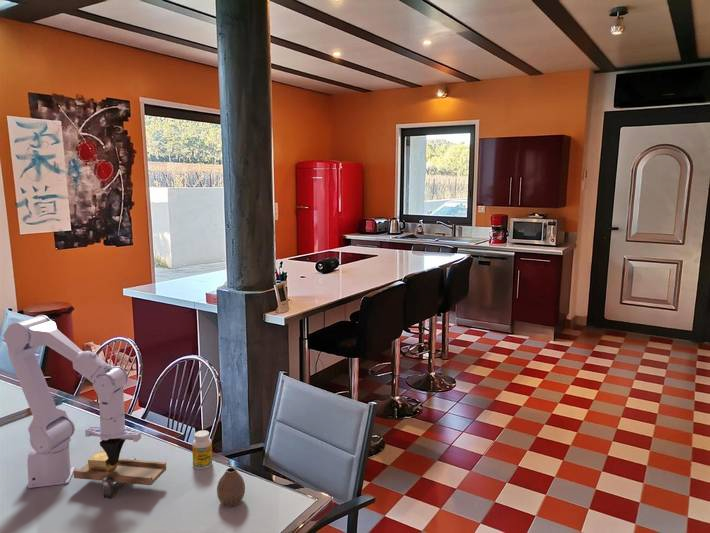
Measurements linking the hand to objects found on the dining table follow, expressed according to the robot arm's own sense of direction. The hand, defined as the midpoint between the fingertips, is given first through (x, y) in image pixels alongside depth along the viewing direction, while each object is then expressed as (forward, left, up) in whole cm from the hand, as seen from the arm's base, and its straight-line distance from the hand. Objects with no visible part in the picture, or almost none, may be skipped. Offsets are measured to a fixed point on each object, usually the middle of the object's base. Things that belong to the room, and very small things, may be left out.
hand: (114, 463), depth 135 cm
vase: (+29, -15, -6) cm, 33 cm away
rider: (-3, +1, -2) cm, 4 cm away
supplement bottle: (+22, +5, -6) cm, 24 cm away
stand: (+1, -1, -6) cm, 6 cm away
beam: (+1, -1, -2) cm, 3 cm away
